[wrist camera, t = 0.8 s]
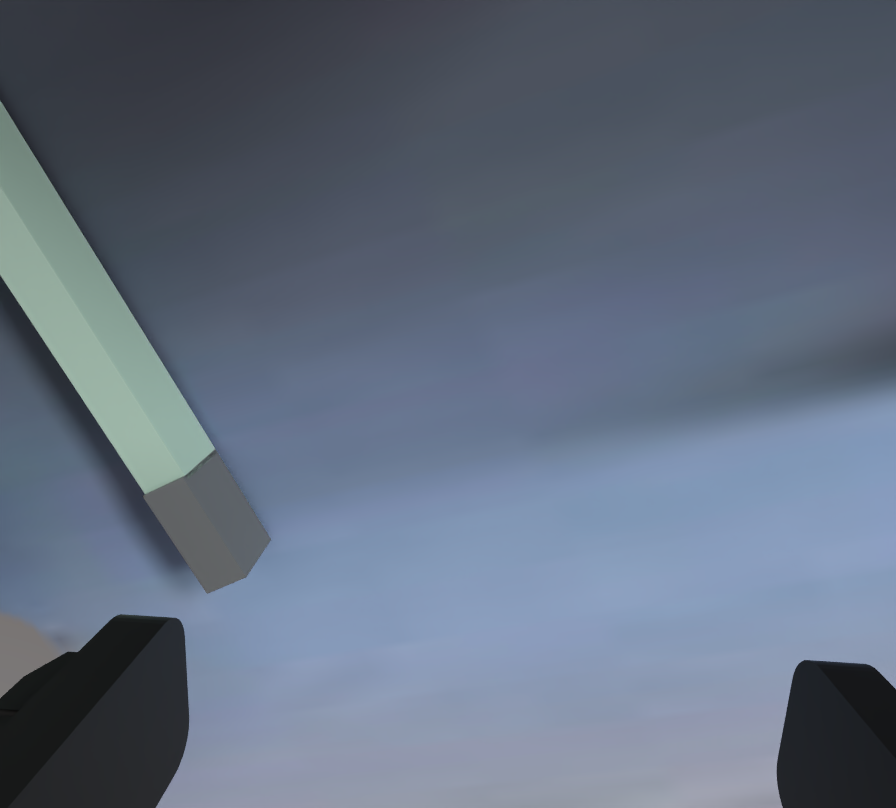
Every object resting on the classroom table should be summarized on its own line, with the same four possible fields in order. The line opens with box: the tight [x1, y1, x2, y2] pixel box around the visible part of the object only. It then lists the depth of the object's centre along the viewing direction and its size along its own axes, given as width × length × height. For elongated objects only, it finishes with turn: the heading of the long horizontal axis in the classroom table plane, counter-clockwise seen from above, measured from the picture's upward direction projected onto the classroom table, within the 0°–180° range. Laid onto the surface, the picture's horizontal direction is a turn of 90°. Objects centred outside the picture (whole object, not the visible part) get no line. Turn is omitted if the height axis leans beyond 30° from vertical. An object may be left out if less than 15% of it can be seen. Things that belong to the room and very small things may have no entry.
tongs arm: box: [0, 101, 271, 593], centre depth 25 cm, size 28×5×5 cm, turn 26°
